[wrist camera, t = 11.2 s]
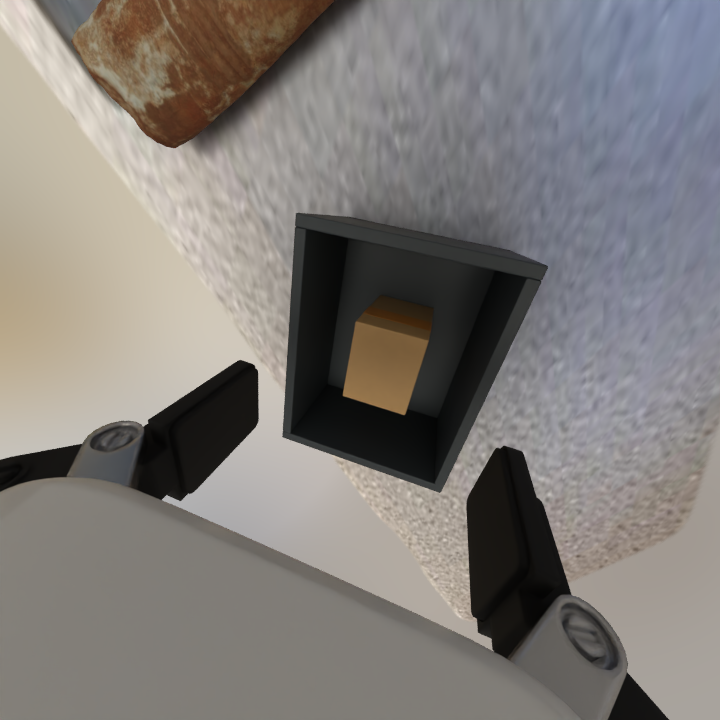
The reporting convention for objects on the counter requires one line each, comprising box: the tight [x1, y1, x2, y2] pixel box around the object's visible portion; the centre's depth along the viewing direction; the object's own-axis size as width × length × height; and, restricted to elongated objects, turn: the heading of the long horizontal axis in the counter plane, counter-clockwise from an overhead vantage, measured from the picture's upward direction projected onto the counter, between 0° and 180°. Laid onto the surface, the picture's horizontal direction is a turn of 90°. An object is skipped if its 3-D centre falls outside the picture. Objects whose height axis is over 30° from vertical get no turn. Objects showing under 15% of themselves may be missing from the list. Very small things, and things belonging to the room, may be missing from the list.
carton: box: [343, 295, 434, 415], centre depth 19 cm, size 5×4×6 cm
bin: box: [283, 213, 548, 493], centre depth 19 cm, size 14×11×8 cm
